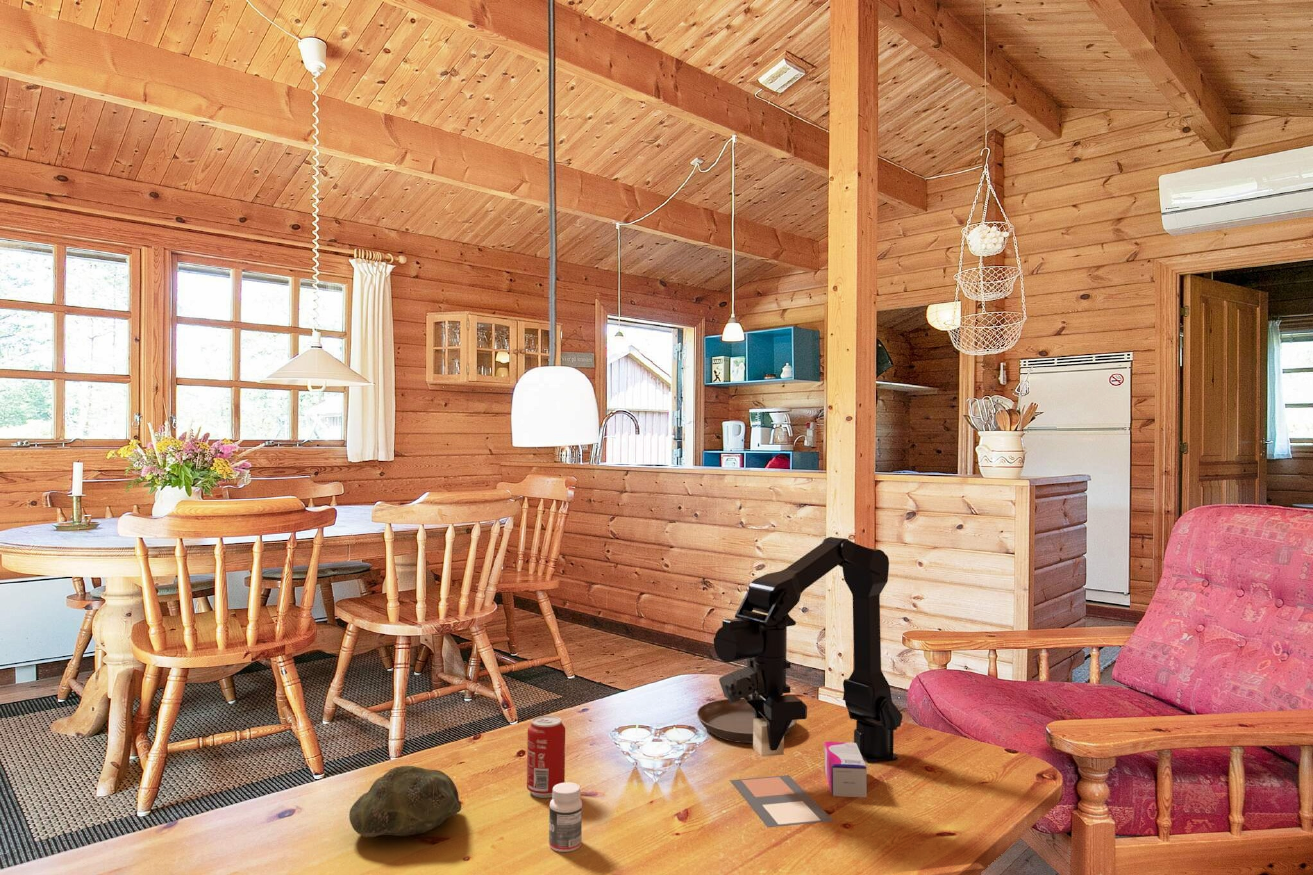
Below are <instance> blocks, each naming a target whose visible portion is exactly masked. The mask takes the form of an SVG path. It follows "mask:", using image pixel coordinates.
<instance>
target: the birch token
mask: <svg viewBox="0 0 1313 875" xmlns="http://www.w3.org/2000/svg"><path fill="white" fill-rule="evenodd" d="M784 747H785V736H783V738H782V740H781V742H780V744H779V746H778V748H777V750H773V751H772V750H770V746H769V740H768V731H767V723H766V719H765V718H758V719H753V743H752V748H753V750H754V751H756V753H758V755H759V756H760V757H770V756H772V757H773V756H782V755H785V751H784V750H785V748H784Z"/></svg>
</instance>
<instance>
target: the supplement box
mask: <svg viewBox="0 0 1313 875" xmlns="http://www.w3.org/2000/svg"><path fill="white" fill-rule="evenodd" d="M824 773H825V776H826V780H827V783H828V786H829V790H830V794H831V796H833V797H849V798H850V797H852V798H867V792H868V791H867V789H868V788H867V782H868V780H867V776H868V775H867V773H868V772H867V764H866V763H865V760H864V759H863V758H862V755H861V753H860V751H859V748H858V746H857V744H856V743H854V742H847V741H846V742H844V741H824Z"/></svg>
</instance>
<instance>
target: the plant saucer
mask: <svg viewBox="0 0 1313 875" xmlns="http://www.w3.org/2000/svg"><path fill="white" fill-rule="evenodd" d="M696 715H697V718H698V720H699V722H700V723H701V725H702V726H703V727H704V728H705V729H706V730H707V731H708V732H709V733H711V735H713V736H715V737H717V738H720V739H723V740H726V741H730V742H735V743H743V744H744V743H745V744H746V743H747V744H753V719H755V715H754V711H753V708H752V707H751V706H750V705H749V704H748V703H747V702H746V701H745V700H744V699H743V698H741V699H740V700H739V701H737V702H733V703H732V702H730V701H729V700H728V699H727V698H724V699H720V700H714V701H711V702H707V703H706V704H703V705H702V706H700V707H699V708H698V709H697V712H696ZM797 721H798V720H792V722H791V723H790V725H789V727H788V729H787V731H786V732H785V734H784V737H785V736H786V735H787V734H788V733H789V732H790V731H792V729H793V728H794V727H795V725H796V723H797Z"/></svg>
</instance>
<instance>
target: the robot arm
mask: <svg viewBox="0 0 1313 875" xmlns="http://www.w3.org/2000/svg"><path fill="white" fill-rule="evenodd" d="M838 566H839V567H841V569H842V574H843V575H842V576H843V580H844V582H845V583H846V585H847V587H848V590H849V591H850V593H851V594H852V625H853V626H852V632H853V633H852V634H853V637H852V638H853V671H852V672H851V674H850V675H849V677H848V678H845V679H843V682H842V685H843V695H842V700H843V701H844V702H845V707H846V709H847V712H848V716H849V719H851V720H854V721H855V722H856V723H855V725H856V726H855V729H854V731H853V743H856V744H857V746H858V748H859V751H860V753H861V755H862V758H863V760H864V762H865V761H866V762H868V763H872V762H883V761H884V762H885V761H895V760H898V759H899V756H898V755H896V754H895V753H894V734H895V732H894V731H897V730H898V728H899V727H902V726H901V725H902V720H903V714H902V712H901V711H900V710H899V709H898V708H897V706H896V705H895V704H894V702H893V699H892V691H891V686H890V683H889V682H888V680H887V678H886V677H885V675H884V673H883V671H882V651H881V650H882V649H881V648H882V646H881V644H882V643H881V641H882V640H881V610H880V609H881V605H880V604H881V600H880V597H881V593H882V591H883V590H884V588H885V587H886V585H887V584H888V582H889V570H890V569H889V568H890V560H889V556H888V555H887V554H886V552H884V551H883V550H881V549H878V548H870V547H866V546H863V545H861V544H858V543H855V542H853V541H851V540H849V539H848V538H842V537H836V536H835V537H834V536H828V537H826V538H824V539H823V540H822V543H820V544H819V545H817V546H816V547H814V548H813V549H812V550H810V551H809V552H807V553H806V554H804V555H803V556H802V557H800V558H799V559H798V560H796V561H795V562H793V563H791V564H789V566H788V567H786V568H784V569H781V570H779V571H775V572H774V571H773V572H770V573H766V574H764V575H762V576H759V577H757V578H755V579H753V580H752V581H751V582H750V584H749V585H748V590H747V592H746V594H745V595H744V597H743V599H742V601H741V603H740V605H739V607H738V609H737V611H736V612H735V613H734V619H730V618H726V619H723V620H722V623H721V624H722V626H721V627H720V628H718V629H717V631H716V633H715V636H714V637H713V647H714V648H713V649H714V651H715V654H716V655H717V657H718V659H719V660H720V661H722V662H723V663H726V664H727V663H728V664H729V663H734V662H738V661H744V660H747V661H746V663H747V664H746V667H742V668H739V669H736V670H734V671H731V672H728V673H727V674H724V675H723V676H721V677H719V678H718V681H719V684H720V687H721V690H722V693H723V696H724V698H725V699H728V700H729V701H730V702H732V703H733V702H737V701H739V700H740V699H744V700H745V701H746V702H747V703H748V704H749V705H750V706H751V707H752V708H753V711H754V715H755V719H758V718H765V719H766V723H767V731H768V740H769V746H770V750H772V751H773V750H777V748H778V746H779V744H780V742H781V740H782V738H783V736H784V734H785V732H786V731H787V729H788V727H789V725H790V723H791V722H792V720H797V721H799V720H806V719H808V705H807V704H806V703H805V702H804V701H803V700H801V699H800V698H798V697H797V696H796V695H794V694H791V686H790V685H788V684H787V669H791V665H792V664H791V661H790V660H788V659H787V645H788V644H787V640H788V634H787V633H788V632H787V630H788V628H787V627H792V626H796V624H797V622H796V620H795V619H793V618H792V617H791V615H789V613H790V612H791V611H792V610H793V609H794V608H795V607H796V606H797V605H798V603H800V599H801V595H802V593H803V592H805V590H806V589H808V588H809V587H810V586H812V585H813V584H814V583H815V582H817V581H818V580H820V579H821V578H824V576H825V575H827V574H828V573H830V572H831V571H833V569H834V568H836V567H838ZM784 694H786V695H784ZM787 694H788V695H787ZM784 737H785V736H784Z"/></svg>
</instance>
